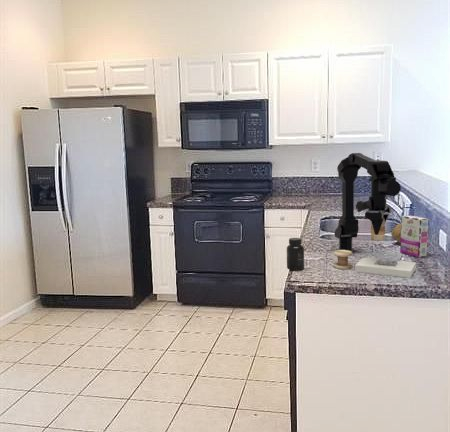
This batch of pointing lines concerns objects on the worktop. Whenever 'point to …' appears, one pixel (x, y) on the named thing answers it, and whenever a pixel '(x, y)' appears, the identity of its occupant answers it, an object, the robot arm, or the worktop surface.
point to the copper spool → (378, 233)
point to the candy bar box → (414, 236)
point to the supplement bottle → (295, 254)
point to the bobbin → (342, 259)
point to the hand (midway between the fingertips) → (378, 233)
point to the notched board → (385, 268)
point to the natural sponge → (397, 233)
